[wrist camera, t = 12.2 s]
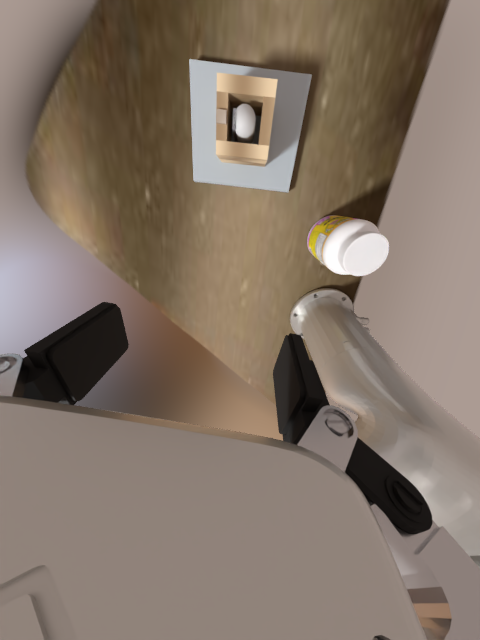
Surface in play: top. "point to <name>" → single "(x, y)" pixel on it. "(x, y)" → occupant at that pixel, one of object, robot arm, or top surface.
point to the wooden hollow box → (262, 101)
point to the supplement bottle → (348, 245)
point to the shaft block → (246, 127)
